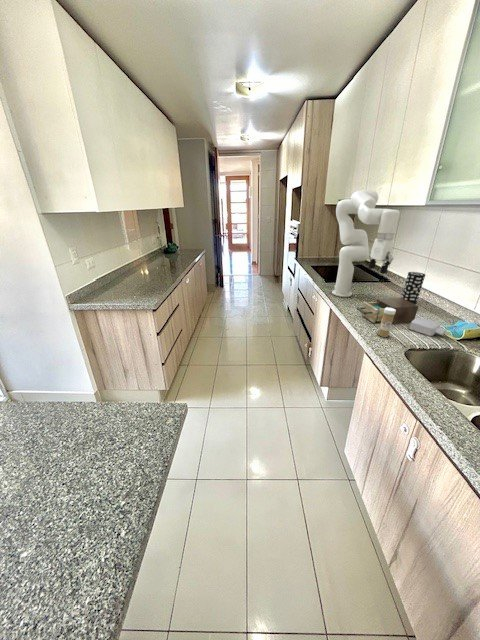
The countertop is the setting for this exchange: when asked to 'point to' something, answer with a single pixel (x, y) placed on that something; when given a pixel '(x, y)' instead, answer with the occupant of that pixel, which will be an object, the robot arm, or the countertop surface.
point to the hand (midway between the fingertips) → (377, 270)
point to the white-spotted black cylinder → (413, 286)
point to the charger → (427, 327)
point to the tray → (372, 311)
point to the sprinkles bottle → (386, 322)
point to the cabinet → (401, 309)
